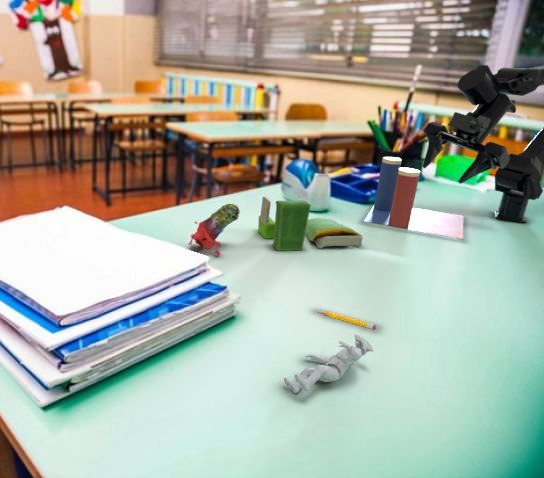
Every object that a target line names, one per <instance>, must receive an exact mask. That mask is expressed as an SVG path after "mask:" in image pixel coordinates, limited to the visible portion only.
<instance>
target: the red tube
mask: <svg viewBox="0 0 544 478" xmlns="http://www.w3.org/2000/svg"><path fill="white" fill-rule="evenodd" d="M420 175H421V170H419V169H417V168H416V169H415V168H412V167H411V168H410V167H400V169H399V171H398V176H397V182H396V187H395V192H394V197H393V202H392V207H391V212H390V217H389V222H388V224H389V225H390V226H389V227H391V226H393V227H392V228H396V227H397V229H402V228H407V227H409V222H410V218H411V213H412V208H414V203H415V200H416V199H415V198H416V193H417V189H418V183H419V180H420Z"/></svg>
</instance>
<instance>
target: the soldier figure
mask: <svg viewBox="0 0 544 478" xmlns="http://www.w3.org/2000/svg"><path fill="white" fill-rule="evenodd" d="M353 336H354V341H355V342H354V344H355V346H353V345H350V344H347V342H345V341H342V340H341V341H337V343H338V344H339V346H338V347H340V348H343V349H341V350H340V351H338V352H337V353H336V354H332V355H331V356H330V357H329V358H325V357H322V356H318V355H315V354H307V355H305V358H310V359H309V360H308V361H309V362H313V361H317V363H319V364H318V365H316V367H305V368H303V370H302V371H301V372H300V374H294V379H295V382H293V381H291V380H290V379H289V378H288V377H284V378H283V381H284V384H285V385H286V386H287V388H289V389H290V390H291V392H293V394H296V395H297V394H298V393H299V392H300V390H301V389H302V390H303V391H305V392H308V391H309V390H310V389H311V386H313V385H314V384H315V383H317V381H320V382H323V383H329V382H331V383H332V382H337V381H339V380H340V379H341V378H342V377H343V376H344V374H345V373H346V371H347V369H349V368H351V367H353V366H355V363H357V362H358V361H359V360H360V359H361V358H362V357H363V356H365V355H366V354H367V353H369V352H371V353H372V352H374V349H373V347H372V344H371V343H370V342H369V341H368V340H366V339H365V338H364V337H363V336H361V335H358V334H354V335H353Z"/></svg>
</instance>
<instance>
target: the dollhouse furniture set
mask: <svg viewBox="0 0 544 478" xmlns="http://www.w3.org/2000/svg"><path fill="white" fill-rule="evenodd" d="M275 204H276V205H275V217H274V219H275V220H274V219H272V218H271V217H270V212H271V200H270V199H269V198H267V197H266V196H262V199H261V209H260V215H258V222H257V223H258V226H257V227H258V229H257V230H258V232H259V233H260V235H261V236H262V237H263V239H265V240H267V239H268V240H269V239H273V244H272V246H273V248H274V249H275V250H276V251H277V252H279V251H280V252H281V251H282V252H283V251H285V252H286V251H302V250H303V248H304V243H305V237H308V239H309V240H310V241H311V242H314V243H315V244H316V247H317V248H318V249H323V248H324V247H325V248H326V247H341V246H342V247H343V246H344V247H346V246H348V247H349V246H355V247H361V246H362V244H363V243H362V242H363V236H362V234H360V233H359V232H357V231H356V230H354V229H353V228H351V227H349V226H346V225H344V224H340V223H338V222H336V221H335V220H333V219H331V218H325V217H324V218H323V217H314V218H309V216H310V211H311V204H310V203H309V202H308V201H306V200H305V199H304V200H303V199H302V200H299V199H298V200H276V201H275Z"/></svg>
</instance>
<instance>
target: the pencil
mask: <svg viewBox="0 0 544 478" xmlns="http://www.w3.org/2000/svg"><path fill="white" fill-rule="evenodd" d="M317 313H319V314H322V315H324V316H326V317H330V318H333V319H336V320H340V321H344V322H347V323H350V324H354V325H357V326H361V327H363V328H367V329H370V330H373V331H375V330H376V327H377V326H376V324H372V323H369V322H366V321H362V320H358V319H355V318H351V317H348V316H345V315H342V314H339V313H338V314H337V313H335V312H331V311H322V310H317Z"/></svg>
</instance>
